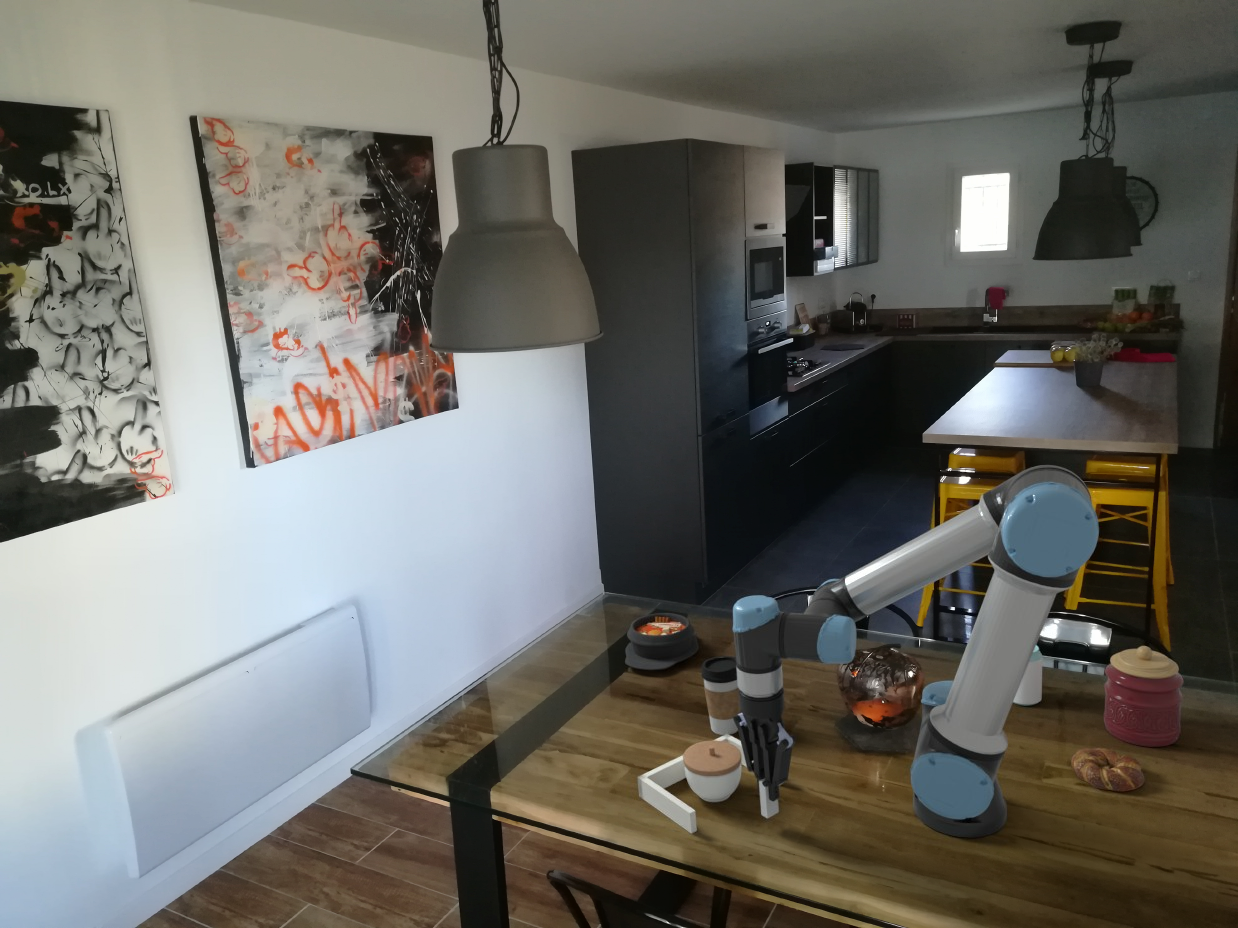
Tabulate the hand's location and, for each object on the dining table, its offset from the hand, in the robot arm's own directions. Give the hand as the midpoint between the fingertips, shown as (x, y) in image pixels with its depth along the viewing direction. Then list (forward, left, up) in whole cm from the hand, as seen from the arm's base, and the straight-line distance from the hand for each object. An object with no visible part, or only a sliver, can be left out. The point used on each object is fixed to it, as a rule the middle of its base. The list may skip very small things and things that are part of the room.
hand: (770, 813), depth 155 cm
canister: (-27, -74, -3) cm, 79 cm away
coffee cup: (+30, -17, -3) cm, 35 cm away
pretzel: (-30, -55, -3) cm, 62 cm away
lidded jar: (+14, 0, -3) cm, 15 cm away
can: (-5, -70, -3) cm, 70 cm away
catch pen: (+15, 0, -3) cm, 16 cm away
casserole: (+68, -30, -3) cm, 75 cm away
